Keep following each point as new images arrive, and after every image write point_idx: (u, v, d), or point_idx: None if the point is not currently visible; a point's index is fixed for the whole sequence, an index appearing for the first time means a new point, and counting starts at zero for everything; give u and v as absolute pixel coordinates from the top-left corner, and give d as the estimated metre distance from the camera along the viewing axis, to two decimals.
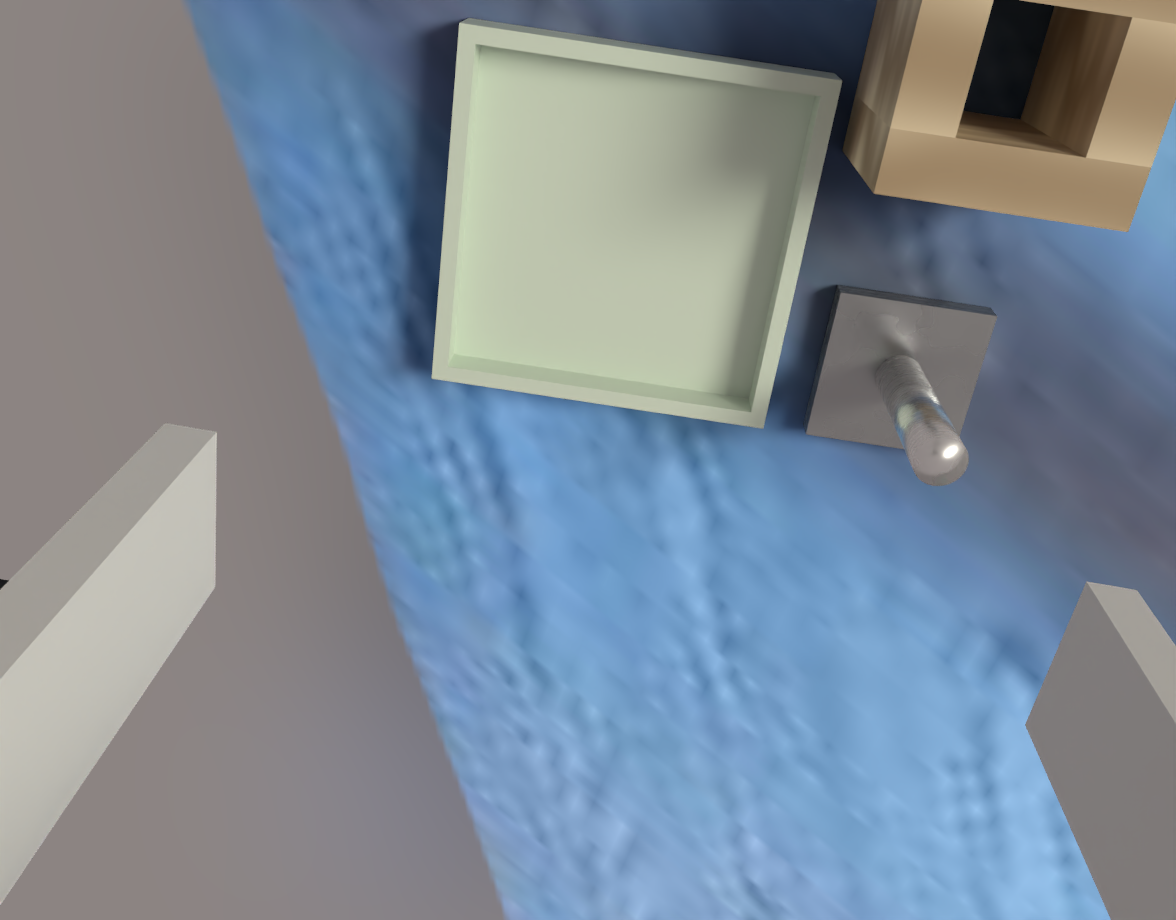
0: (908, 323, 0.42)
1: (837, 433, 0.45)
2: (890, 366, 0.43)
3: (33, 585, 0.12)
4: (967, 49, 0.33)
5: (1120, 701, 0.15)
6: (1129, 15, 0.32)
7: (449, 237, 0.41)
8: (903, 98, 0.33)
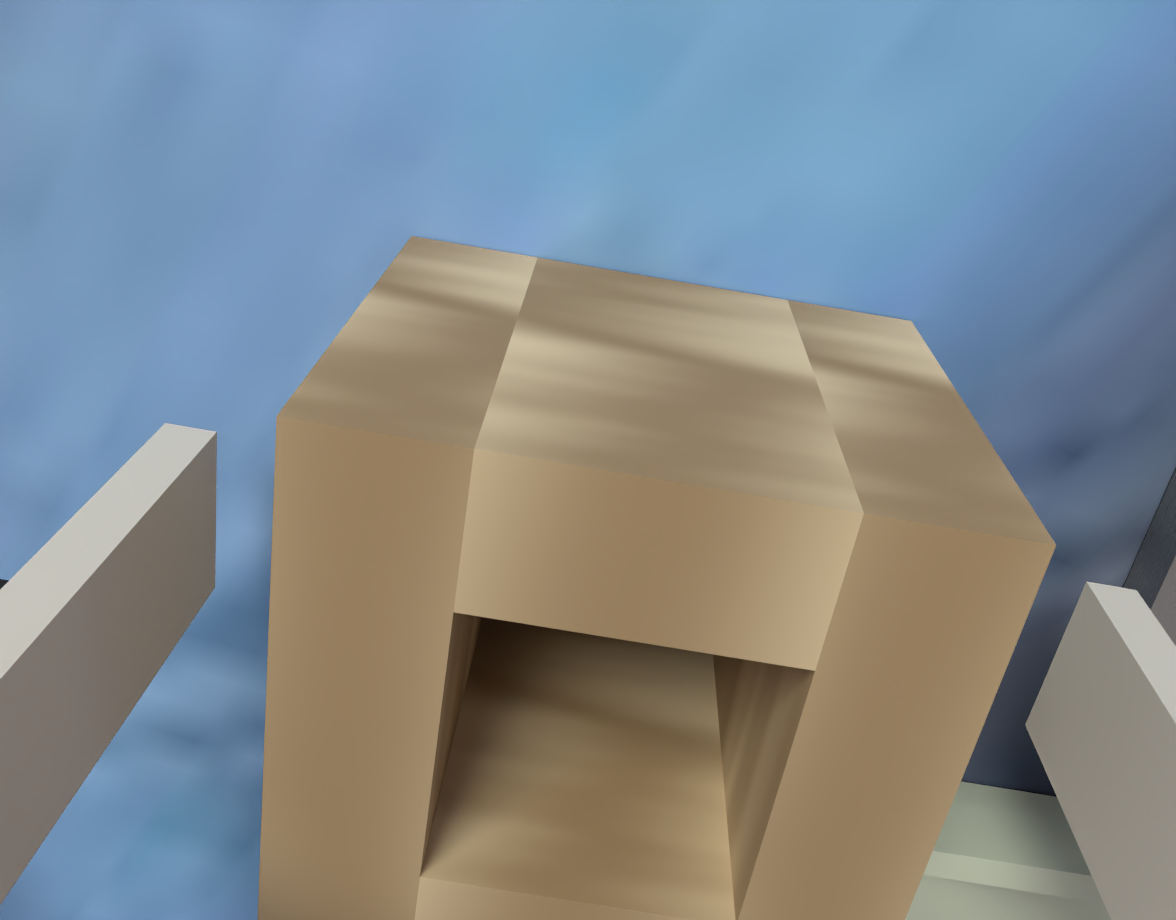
0: None
1: None
2: None
3: (33, 585, 0.12)
4: (534, 916, 0.14)
5: (1120, 701, 0.15)
6: (448, 622, 0.12)
7: None
8: None
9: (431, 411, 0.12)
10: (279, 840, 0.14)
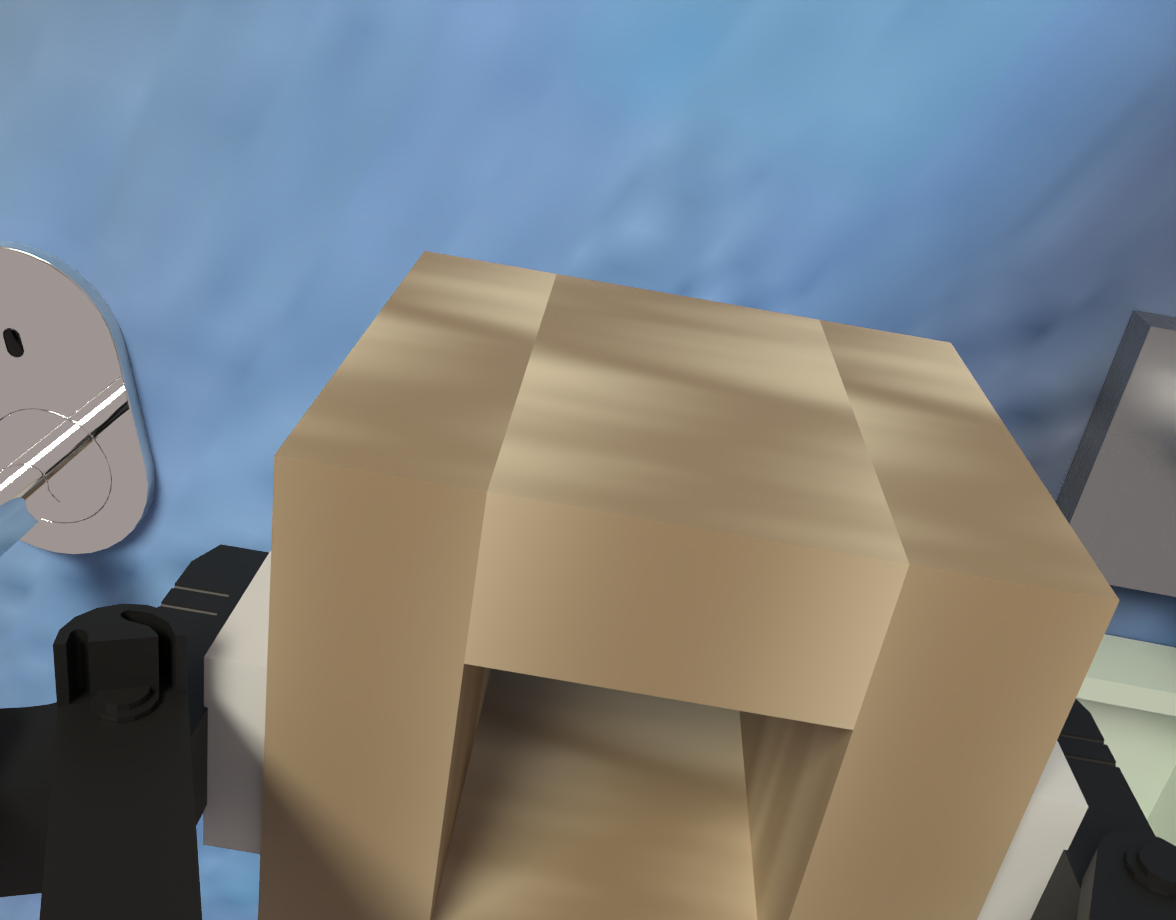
0: (1129, 471, 0.24)
1: None
2: None
3: None
4: None
5: None
6: (458, 674, 0.11)
7: None
8: None
9: (442, 448, 0.11)
10: (278, 897, 0.13)
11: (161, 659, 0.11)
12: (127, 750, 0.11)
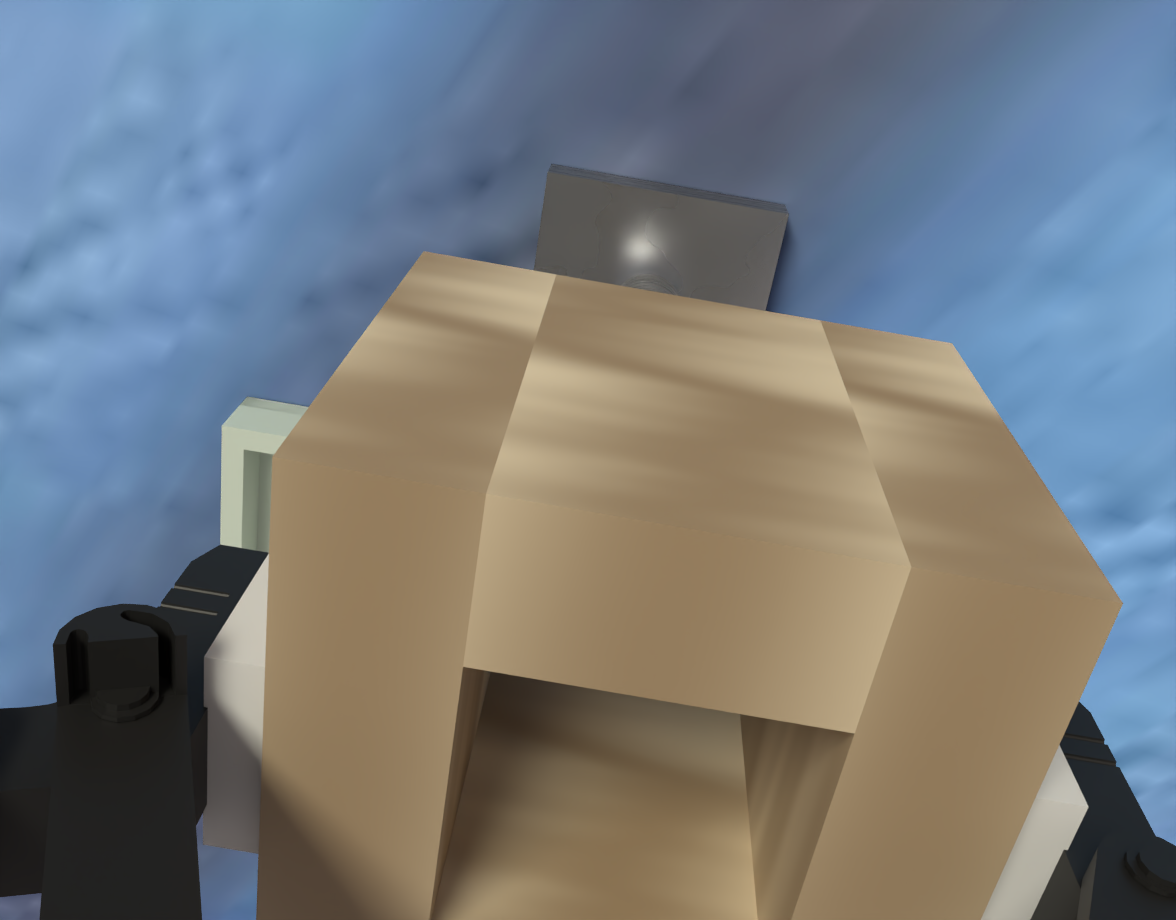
0: None
1: None
2: None
3: None
4: None
5: None
6: (457, 677, 0.11)
7: None
8: None
9: (441, 450, 0.11)
10: (277, 901, 0.13)
11: (161, 659, 0.11)
12: (127, 750, 0.11)
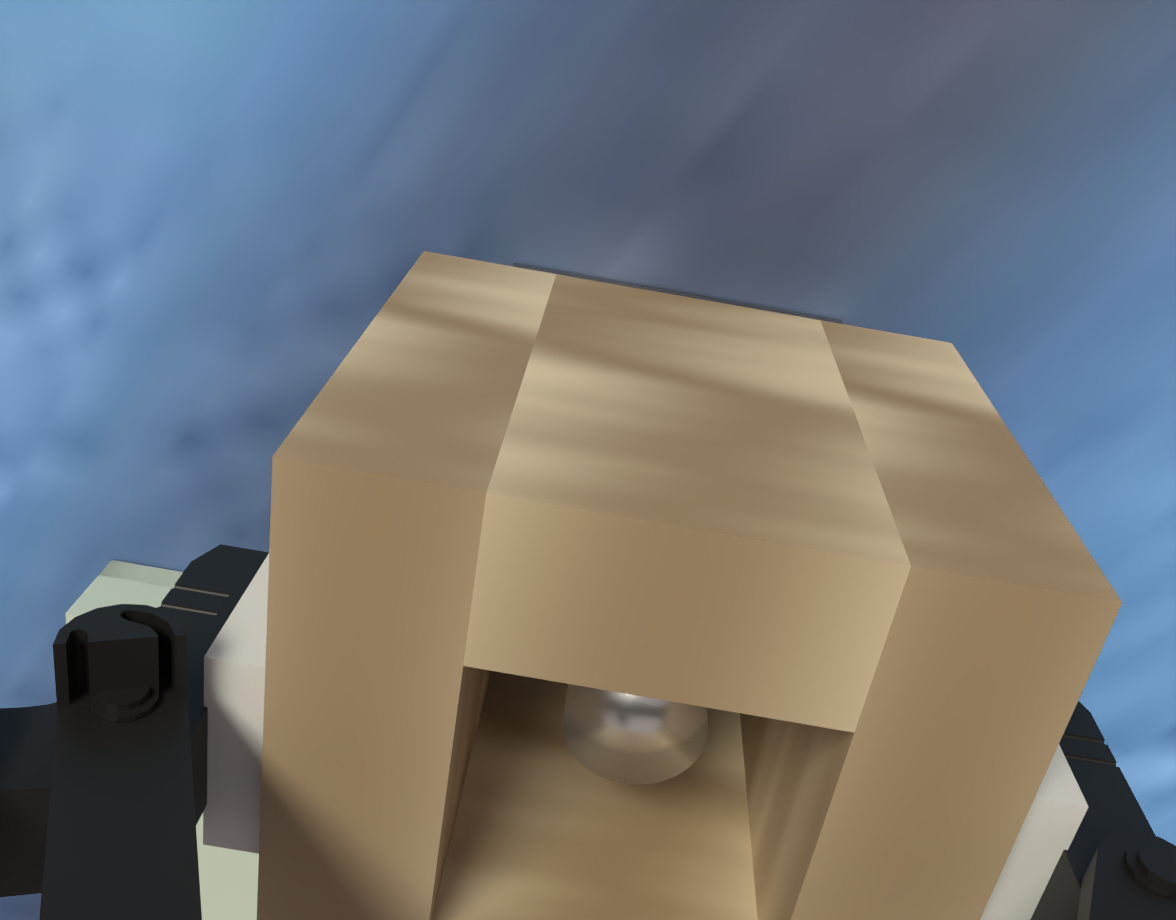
0: None
1: None
2: None
3: None
4: None
5: None
6: (457, 676, 0.11)
7: None
8: None
9: (441, 449, 0.11)
10: (277, 900, 0.13)
11: (161, 659, 0.11)
12: (127, 750, 0.11)
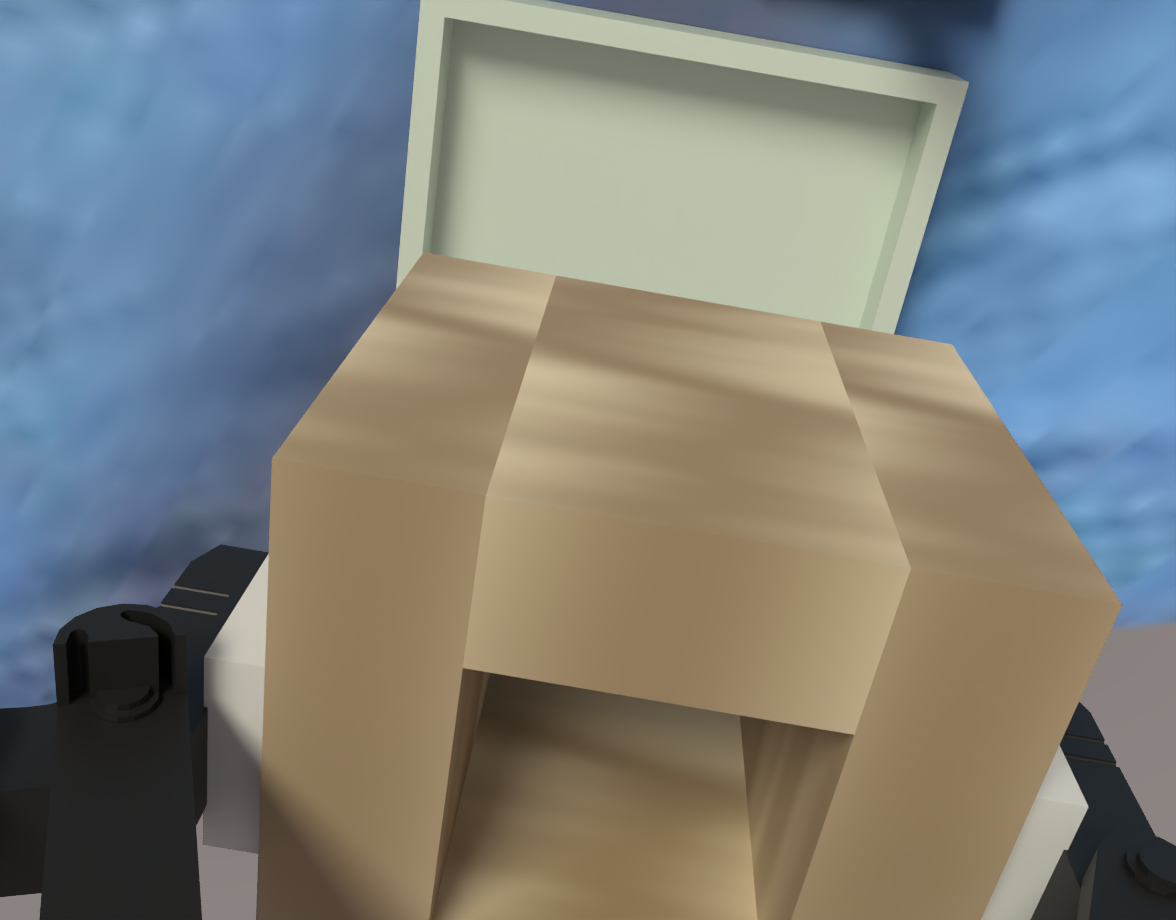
0: None
1: None
2: None
3: None
4: None
5: None
6: (457, 678, 0.11)
7: None
8: None
9: (440, 451, 0.11)
10: (276, 902, 0.13)
11: (161, 659, 0.11)
12: (127, 750, 0.11)
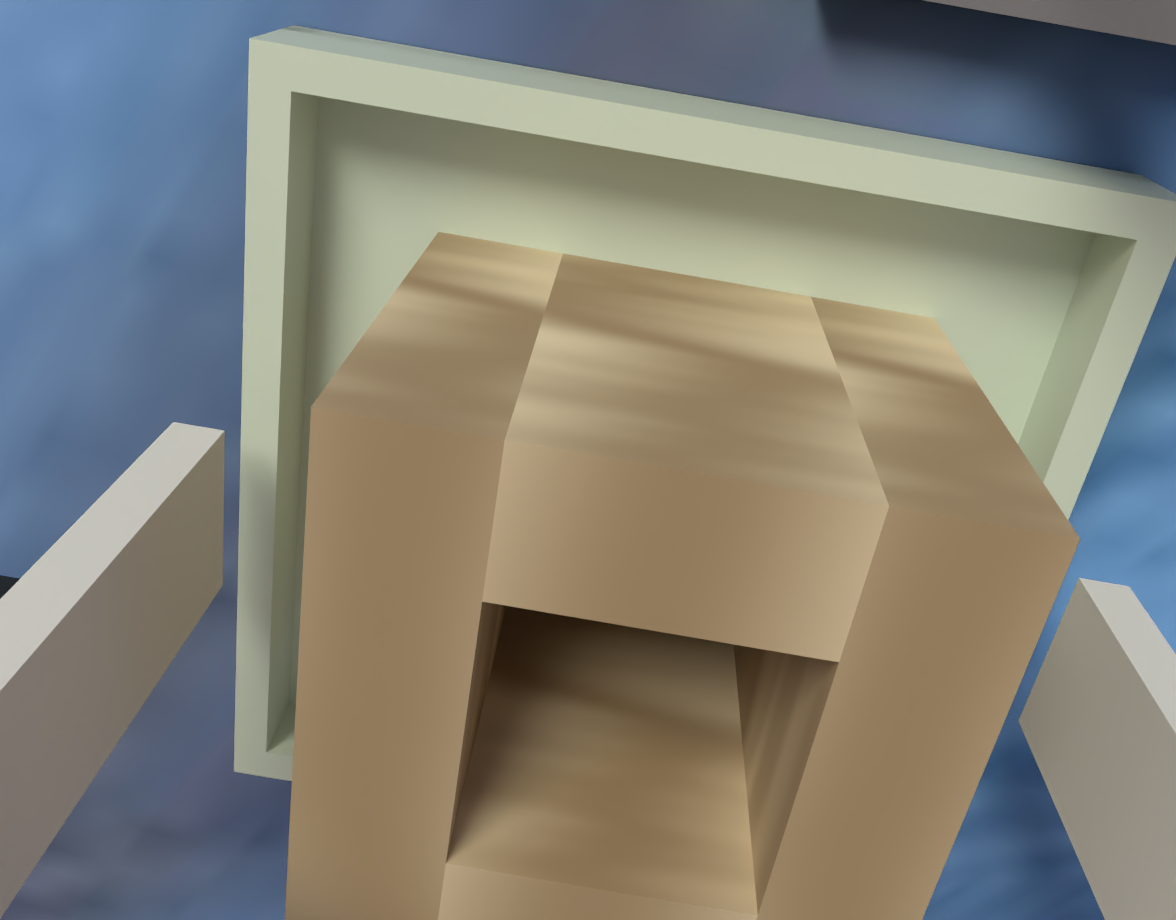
0: None
1: None
2: None
3: (44, 583, 0.12)
4: (558, 903, 0.14)
5: (1111, 696, 0.15)
6: (477, 611, 0.12)
7: None
8: None
9: (462, 403, 0.12)
10: (308, 825, 0.14)
11: None
12: None
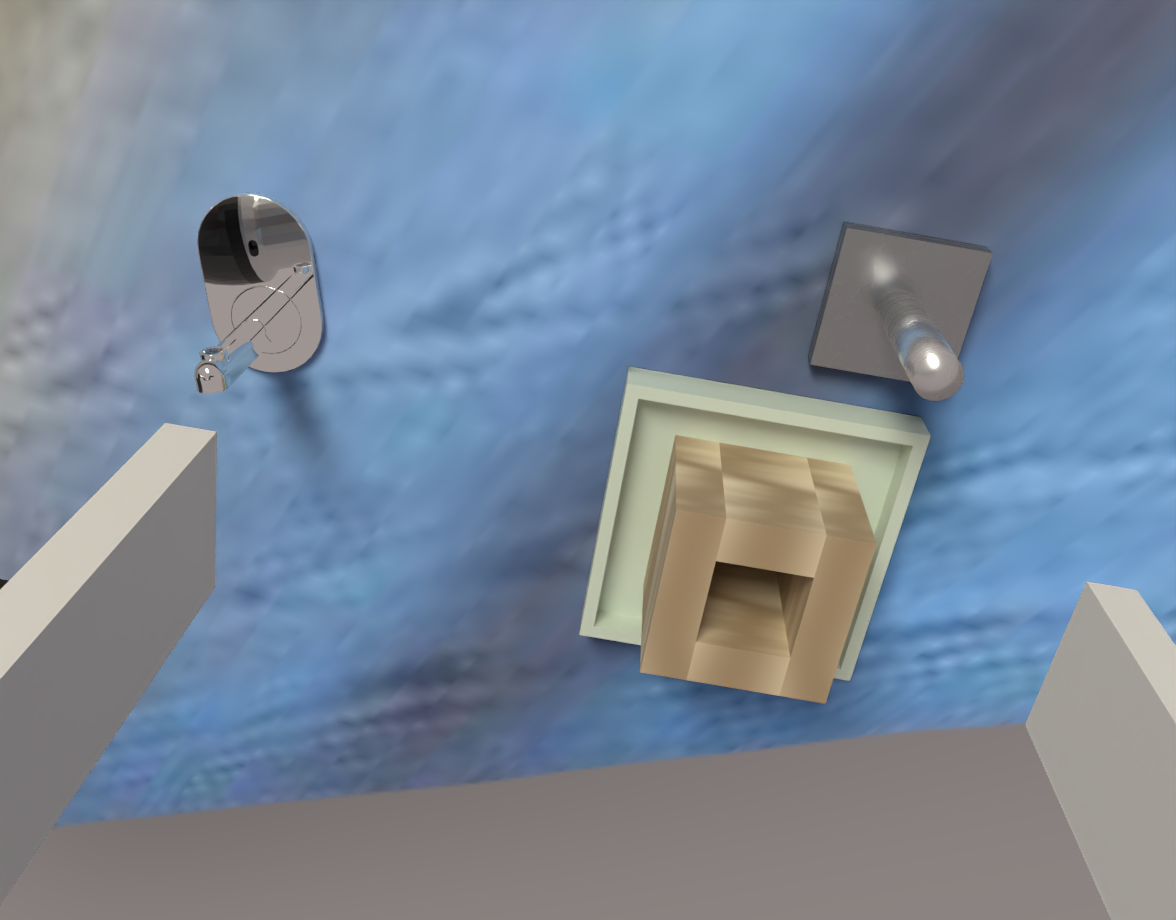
0: (845, 305, 0.46)
1: None
2: None
3: (33, 585, 0.12)
4: (729, 655, 0.46)
5: (1120, 701, 0.15)
6: (714, 563, 0.44)
7: None
8: (759, 688, 0.47)
9: (712, 507, 0.44)
10: (655, 630, 0.46)
11: None
12: None
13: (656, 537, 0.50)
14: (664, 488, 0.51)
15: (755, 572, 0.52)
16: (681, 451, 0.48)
